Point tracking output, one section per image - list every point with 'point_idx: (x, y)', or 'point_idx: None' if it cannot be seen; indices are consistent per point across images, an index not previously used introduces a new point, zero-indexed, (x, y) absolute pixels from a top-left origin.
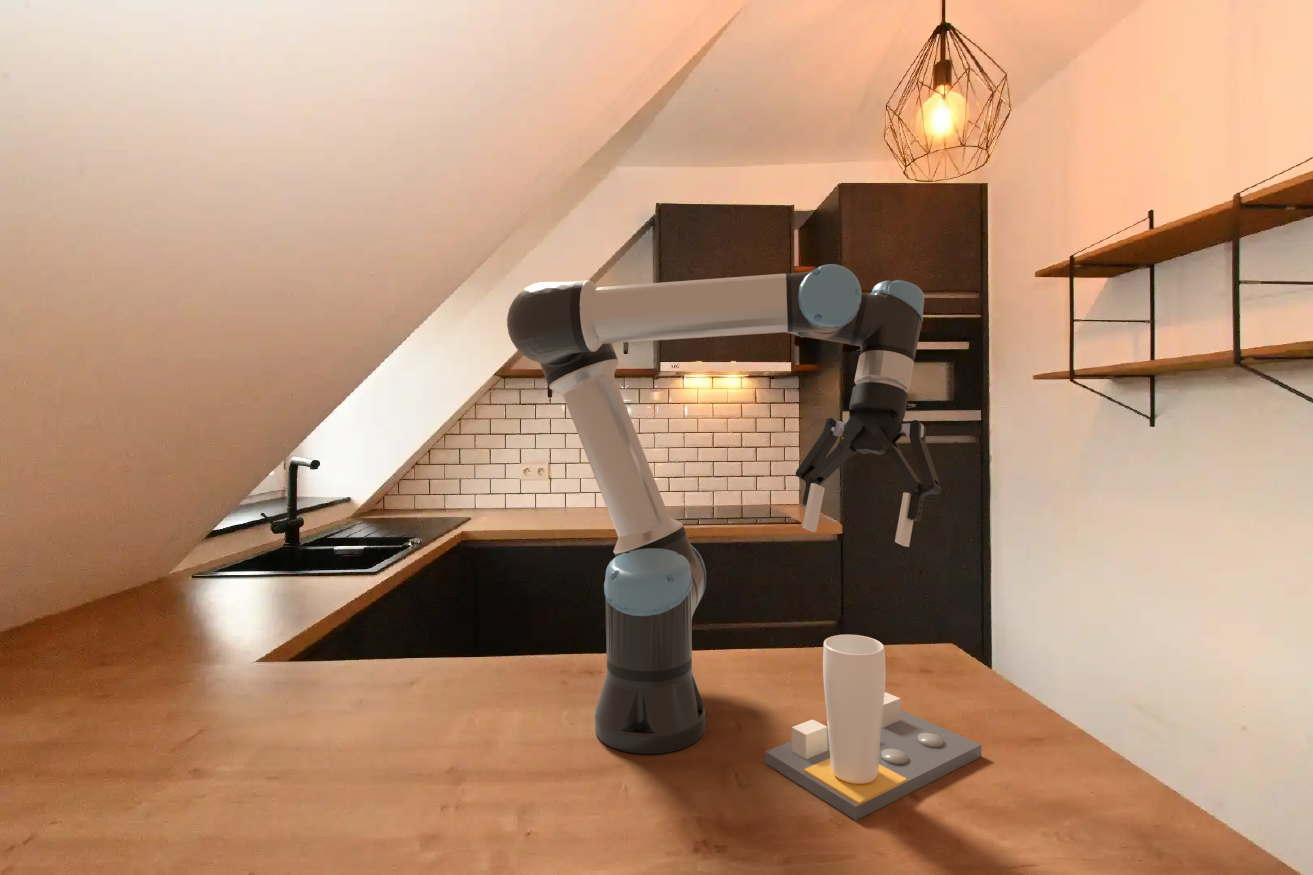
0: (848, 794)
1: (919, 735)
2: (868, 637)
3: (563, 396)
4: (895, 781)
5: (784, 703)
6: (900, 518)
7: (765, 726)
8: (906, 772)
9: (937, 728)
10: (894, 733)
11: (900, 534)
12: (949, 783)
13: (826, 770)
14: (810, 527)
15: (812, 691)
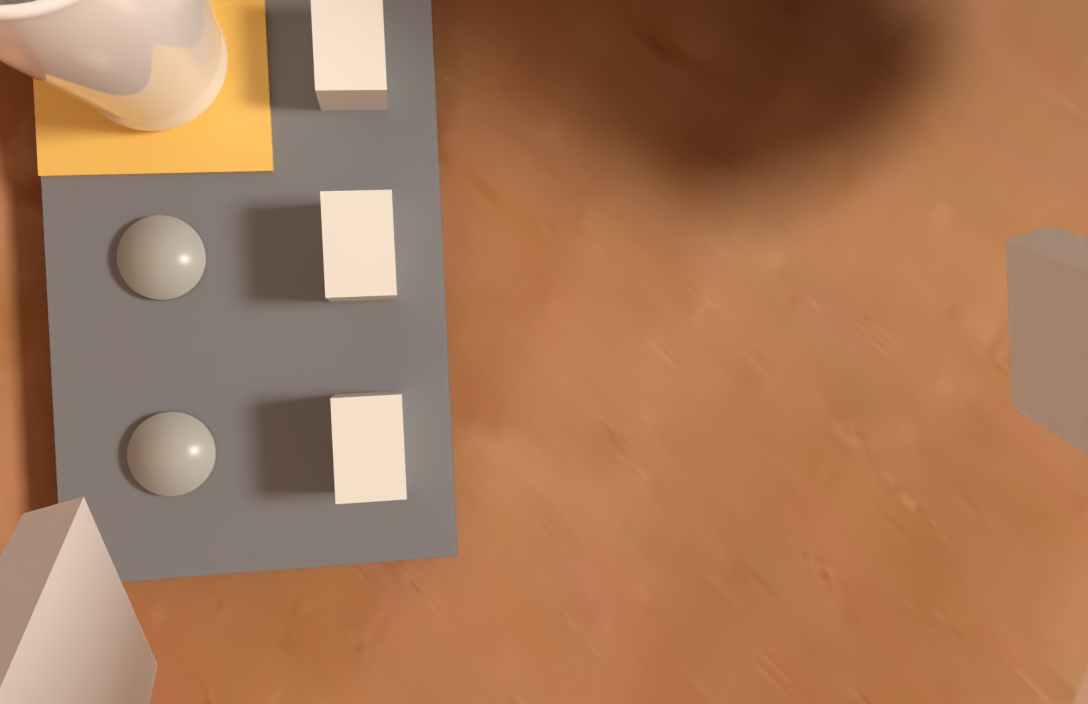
0: None
1: (208, 441)
2: (21, 7)
3: None
4: (47, 132)
5: (715, 298)
6: (1, 653)
7: (616, 122)
8: (80, 220)
9: (226, 555)
10: (282, 395)
11: (14, 551)
12: (25, 346)
13: (217, 2)
14: (1022, 309)
15: (736, 455)
